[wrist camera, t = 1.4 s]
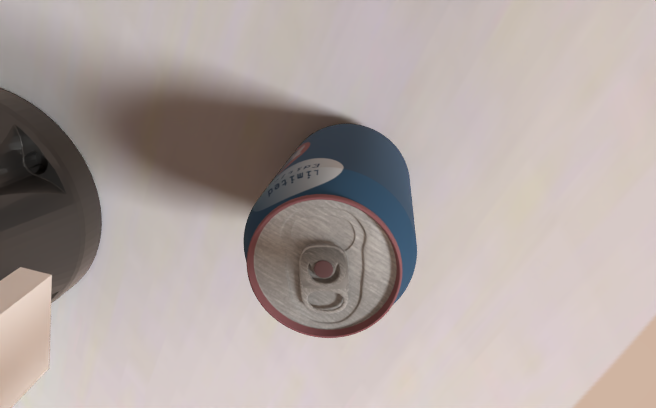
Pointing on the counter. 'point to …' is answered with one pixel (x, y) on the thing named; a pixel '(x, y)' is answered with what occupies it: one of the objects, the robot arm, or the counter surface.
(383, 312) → the soda can
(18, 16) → the counter surface
